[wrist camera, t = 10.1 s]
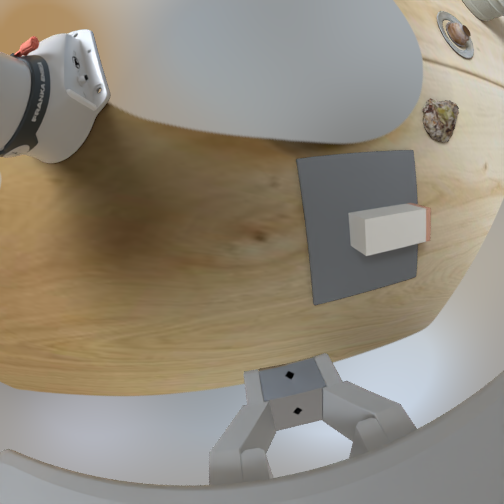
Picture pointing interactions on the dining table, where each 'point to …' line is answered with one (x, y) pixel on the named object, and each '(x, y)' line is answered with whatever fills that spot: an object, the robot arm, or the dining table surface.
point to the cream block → (389, 228)
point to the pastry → (456, 34)
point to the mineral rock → (440, 119)
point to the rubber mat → (337, 219)
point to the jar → (486, 8)
